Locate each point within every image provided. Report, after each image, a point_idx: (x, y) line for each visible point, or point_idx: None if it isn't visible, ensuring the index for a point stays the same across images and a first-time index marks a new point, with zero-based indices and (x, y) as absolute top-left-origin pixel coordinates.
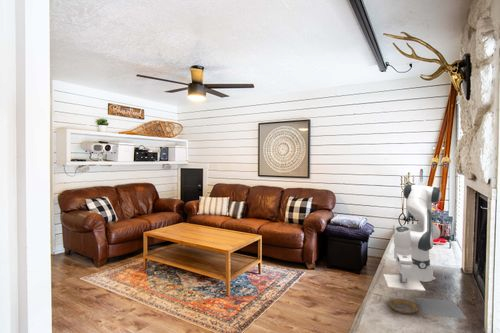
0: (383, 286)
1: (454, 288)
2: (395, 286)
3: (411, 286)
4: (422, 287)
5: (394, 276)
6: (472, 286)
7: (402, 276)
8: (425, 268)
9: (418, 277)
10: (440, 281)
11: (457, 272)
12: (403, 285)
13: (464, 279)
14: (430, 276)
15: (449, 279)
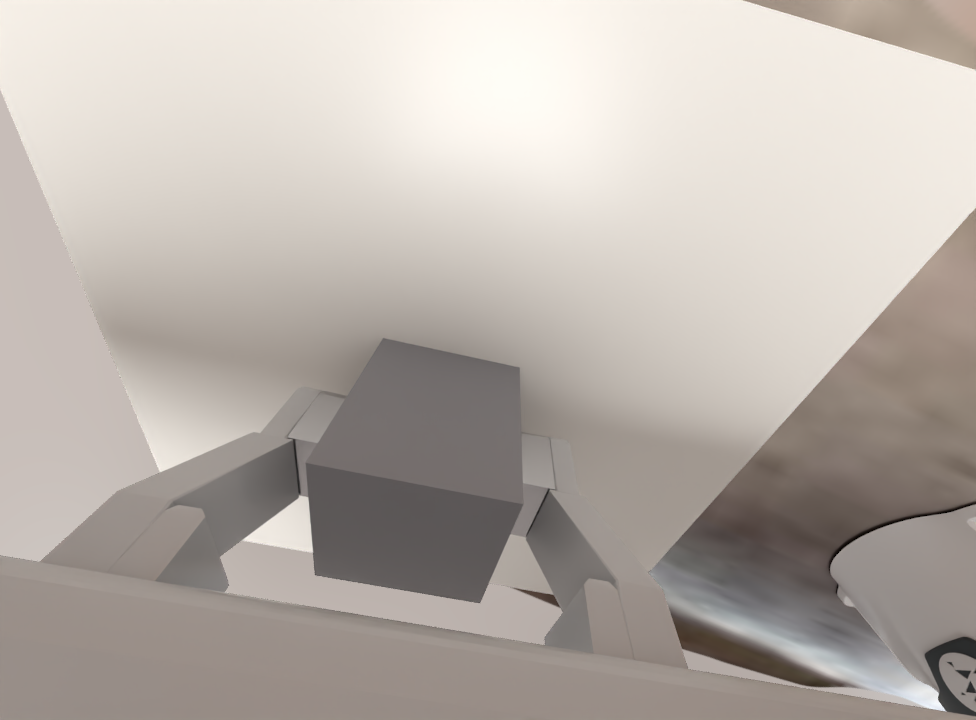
0: (972, 253)
1: (703, 604)
2: (59, 99)
3: (235, 438)
4: (259, 534)
5: (733, 357)
6: (697, 649)
7: (130, 486)
8: (927, 659)
9: (898, 553)
10: (803, 599)
11: (850, 675)
12: (226, 333)
13: (771, 660)
14: (859, 603)
15: (802, 630)
